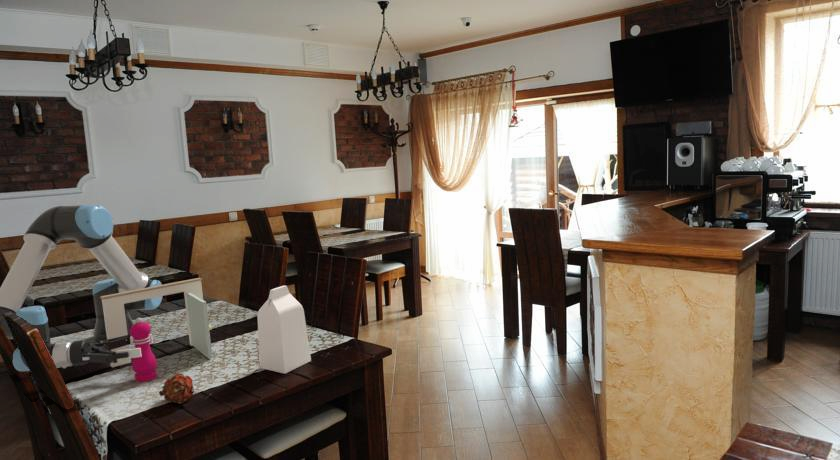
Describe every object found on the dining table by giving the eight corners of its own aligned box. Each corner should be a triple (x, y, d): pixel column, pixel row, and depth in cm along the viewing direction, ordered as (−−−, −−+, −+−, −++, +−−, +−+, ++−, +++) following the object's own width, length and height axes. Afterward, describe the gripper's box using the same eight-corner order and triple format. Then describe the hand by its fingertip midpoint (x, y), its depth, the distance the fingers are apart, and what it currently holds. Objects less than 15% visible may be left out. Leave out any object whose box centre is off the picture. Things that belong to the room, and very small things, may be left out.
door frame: (109, 366, 191) (100, 296, 188) (206, 340, 214) (199, 277, 210) (111, 367, 189) (102, 297, 186) (208, 341, 212) (202, 278, 208)
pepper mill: (163, 375, 180) (156, 315, 177) (144, 384, 174) (136, 322, 171) (148, 372, 183) (140, 313, 180) (128, 381, 177) (120, 320, 174)
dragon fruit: (184, 414, 155) (172, 406, 164) (206, 388, 159) (193, 383, 168) (161, 395, 151) (150, 389, 161) (184, 370, 155) (172, 365, 165)
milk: (285, 373, 176) (277, 293, 172) (259, 367, 182) (252, 290, 179) (311, 360, 186) (304, 284, 182) (286, 355, 192) (279, 282, 189)
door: (208, 358, 192) (202, 302, 189) (192, 344, 207) (186, 292, 205) (216, 356, 193) (210, 300, 190) (199, 343, 209) (193, 291, 206)
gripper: (89, 351, 185) (157, 343, 189) (57, 380, 161) (137, 370, 165) (86, 329, 184) (155, 322, 188) (54, 355, 160) (134, 346, 164)
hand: (146, 345), depth 177 cm, fingers open, 13 cm apart
